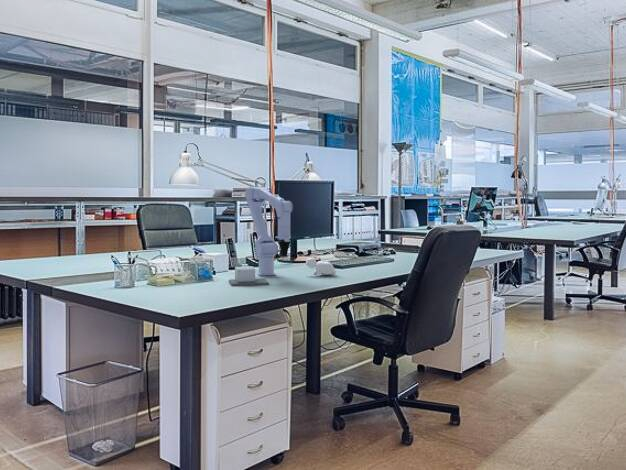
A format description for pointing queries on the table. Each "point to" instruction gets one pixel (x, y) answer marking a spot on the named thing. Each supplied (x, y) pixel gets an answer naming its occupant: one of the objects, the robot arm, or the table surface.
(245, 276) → the small box
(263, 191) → the robot arm
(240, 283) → the mat
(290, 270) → the table surface
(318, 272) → the white animal figurine
